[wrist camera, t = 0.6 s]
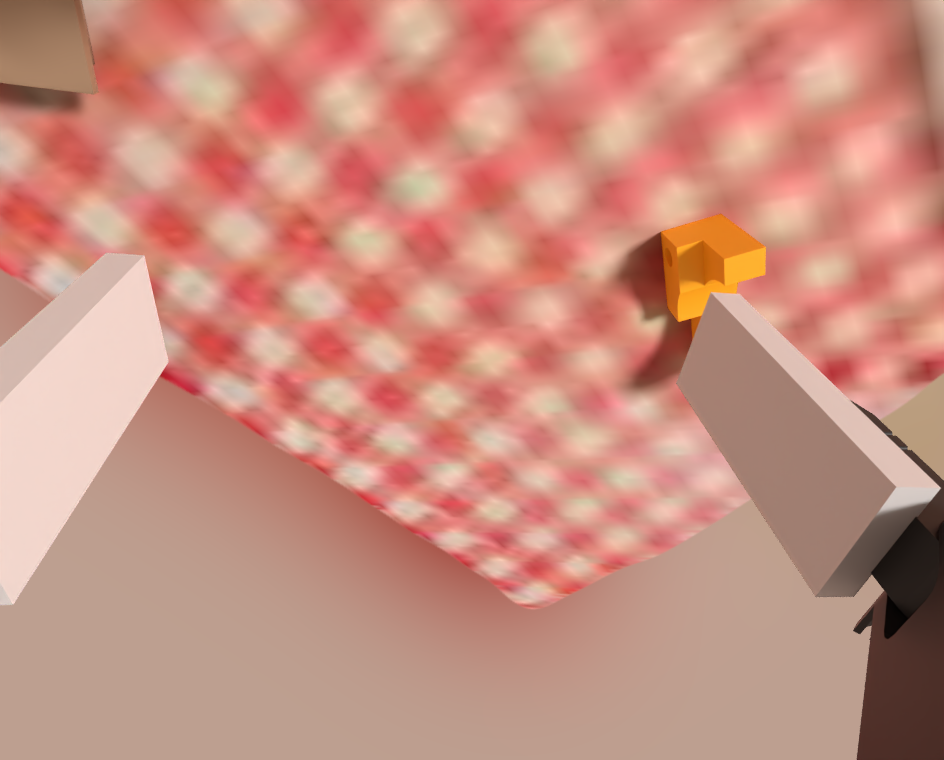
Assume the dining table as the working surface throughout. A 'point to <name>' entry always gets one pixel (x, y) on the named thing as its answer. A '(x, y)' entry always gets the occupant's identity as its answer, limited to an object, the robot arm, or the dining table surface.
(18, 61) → the stand
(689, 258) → the pipe clamp
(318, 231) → the dining table surface
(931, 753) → the robot arm
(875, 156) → the dining table surface
